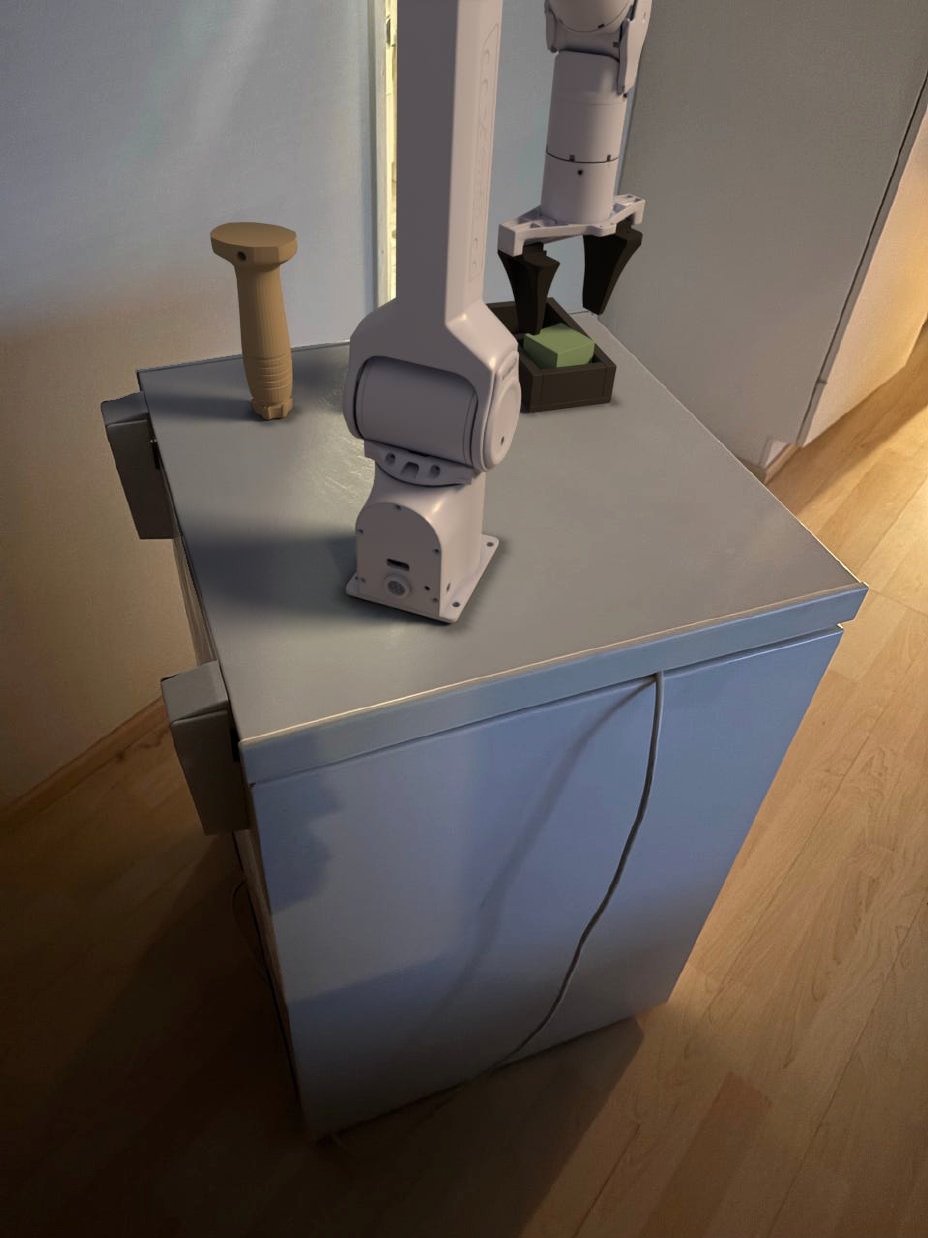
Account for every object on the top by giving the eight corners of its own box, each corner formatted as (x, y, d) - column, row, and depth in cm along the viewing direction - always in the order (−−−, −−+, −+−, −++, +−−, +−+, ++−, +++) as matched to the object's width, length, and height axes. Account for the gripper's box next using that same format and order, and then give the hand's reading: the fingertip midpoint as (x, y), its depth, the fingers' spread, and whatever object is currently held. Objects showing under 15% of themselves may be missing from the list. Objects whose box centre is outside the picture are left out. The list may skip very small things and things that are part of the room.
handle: (298, 431, 75) (281, 251, 65) (227, 419, 76) (199, 239, 66) (318, 404, 78) (305, 228, 68) (250, 393, 79) (227, 218, 69)
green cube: (589, 382, 82) (595, 341, 79) (552, 395, 80) (557, 353, 77) (556, 362, 85) (561, 322, 82) (520, 375, 82) (524, 334, 80)
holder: (529, 412, 79) (532, 375, 77) (475, 338, 89) (477, 303, 87) (610, 402, 81) (617, 365, 79) (548, 331, 91) (552, 296, 89)
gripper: (546, 181, 64) (529, 358, 73) (683, 152, 70) (651, 317, 80) (485, 155, 67) (475, 326, 77) (620, 130, 74) (596, 290, 84)
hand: (561, 320), depth 78 cm, fingers open, 7 cm apart
